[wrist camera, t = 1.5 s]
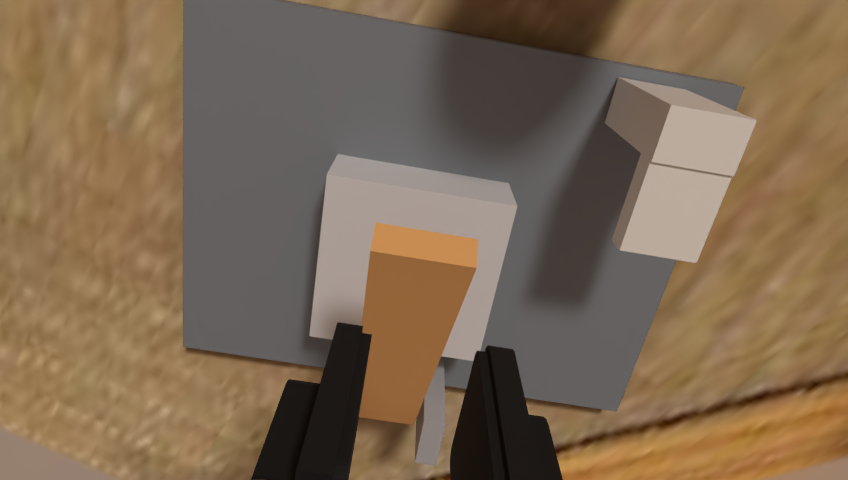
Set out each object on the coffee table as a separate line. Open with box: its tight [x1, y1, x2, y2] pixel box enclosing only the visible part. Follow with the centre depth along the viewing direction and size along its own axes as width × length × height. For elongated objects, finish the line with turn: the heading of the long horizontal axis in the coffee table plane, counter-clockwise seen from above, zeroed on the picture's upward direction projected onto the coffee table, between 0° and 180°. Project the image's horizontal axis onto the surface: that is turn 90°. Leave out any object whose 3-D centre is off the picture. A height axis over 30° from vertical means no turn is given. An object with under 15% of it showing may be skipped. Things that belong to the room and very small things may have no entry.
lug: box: [605, 77, 757, 263], centre depth 23 cm, size 3×6×6 cm, turn 170°
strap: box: [359, 223, 478, 425], centre depth 22 cm, size 3×14×1 cm, turn 170°
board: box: [183, 0, 744, 465], centre depth 26 cm, size 24×18×6 cm
